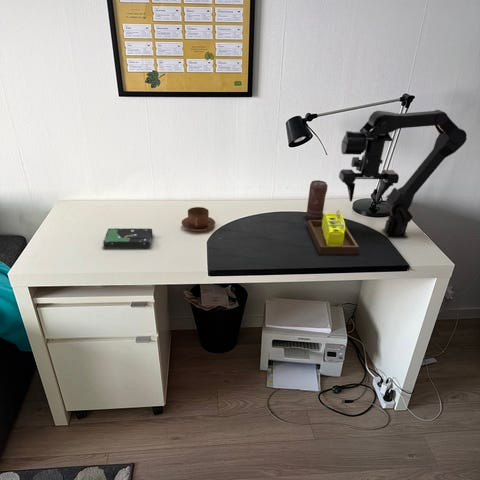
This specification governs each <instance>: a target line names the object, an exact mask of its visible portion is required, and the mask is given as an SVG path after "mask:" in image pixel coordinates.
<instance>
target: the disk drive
mask: <svg viewBox="0 0 480 480" xmlns="http://www.w3.org/2000/svg"><path fill="white" fill-rule="evenodd" d="M153 233H154V232H153V228H122V227H121V228H108V229H107V231H106V233H105V236H104V239H103V248H104V249H150V248H151V245H152V240H153Z"/></svg>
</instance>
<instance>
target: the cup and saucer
mask: <svg viewBox="0 0 480 480" xmlns="http://www.w3.org/2000/svg"><path fill="white" fill-rule="evenodd" d="M209 214H210V213H209V209H208V208H206V207H202V206H195V207H191V208H188V209H187V217H185V218H184V219H182V220H181V226H182V227H183V228H184V229H185V230H188V231H191V232H206V231H210V230H211V229H213V228H214V227H215V225H216V221H215V220H214V219H213V218H212V217H209V216H210V215H209Z"/></svg>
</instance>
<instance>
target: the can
mask: <svg viewBox="0 0 480 480" xmlns="http://www.w3.org/2000/svg"><path fill="white" fill-rule="evenodd" d="M327 192H328V183H327V182H326V181H323V180H319V179H318V180H317V179H316V180H315V179H314V180H312V181H311V183H310V184H309V191H308V200H307V207H306V215H305V218H306V220H307V221H308V220H322V219H323V215H324V208H325V202H326V195H327V194H328V193H327Z"/></svg>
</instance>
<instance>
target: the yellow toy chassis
mask: <svg viewBox="0 0 480 480" xmlns="http://www.w3.org/2000/svg"><path fill="white" fill-rule="evenodd" d="M321 220H322V229H323V233H324V234H323V235H324V239H325V240H326V244H327V246H342V244H343V240H344V234H345V226H346V222H345V220H344V217H343V215H342V211H341V209H340V208H339V209H337V211H336V213H334V212H326V211H324V212H323V215H322V219H321ZM343 226H344V227H343Z"/></svg>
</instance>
